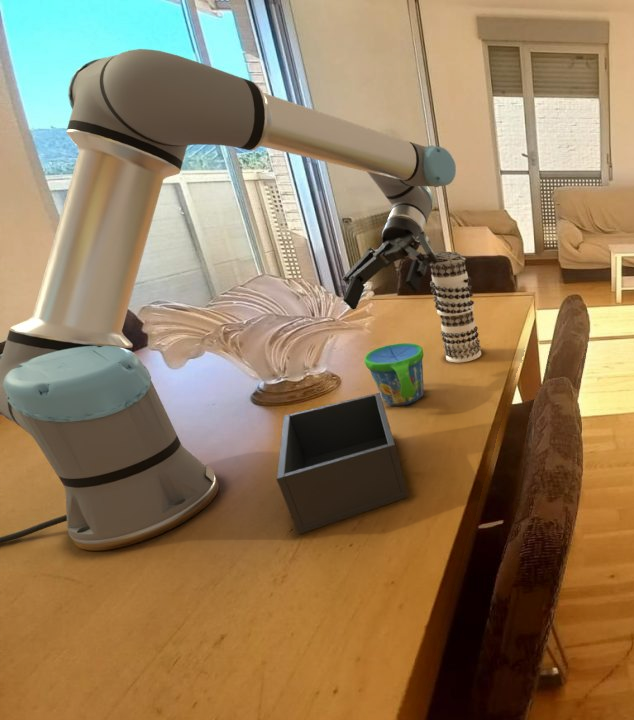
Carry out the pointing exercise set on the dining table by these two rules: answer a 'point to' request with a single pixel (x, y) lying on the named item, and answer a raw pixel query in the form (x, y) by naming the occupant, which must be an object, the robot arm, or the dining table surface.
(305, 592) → the dining table surface
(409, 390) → the snack cup
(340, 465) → the waste bin
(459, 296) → the decorative candle
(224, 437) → the dining table surface
